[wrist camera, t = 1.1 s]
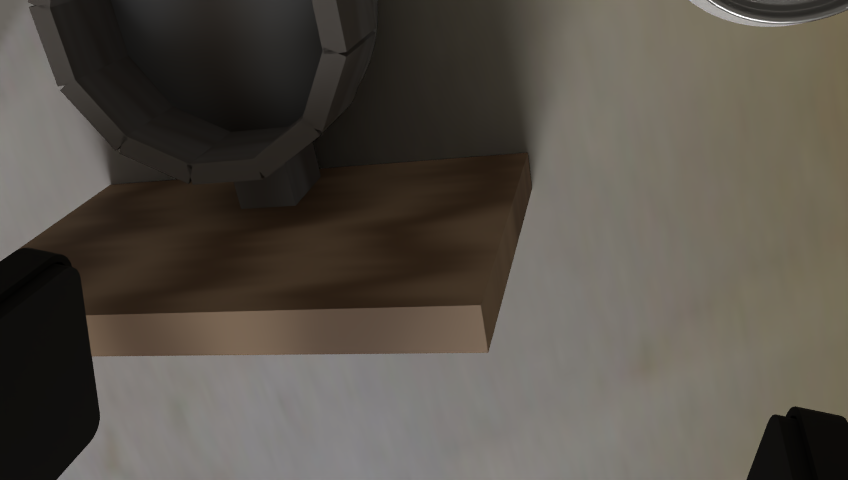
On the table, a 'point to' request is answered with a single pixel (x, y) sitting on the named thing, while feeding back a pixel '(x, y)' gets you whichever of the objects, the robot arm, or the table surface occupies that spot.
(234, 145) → the bracket
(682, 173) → the table surface
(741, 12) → the can
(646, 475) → the table surface
